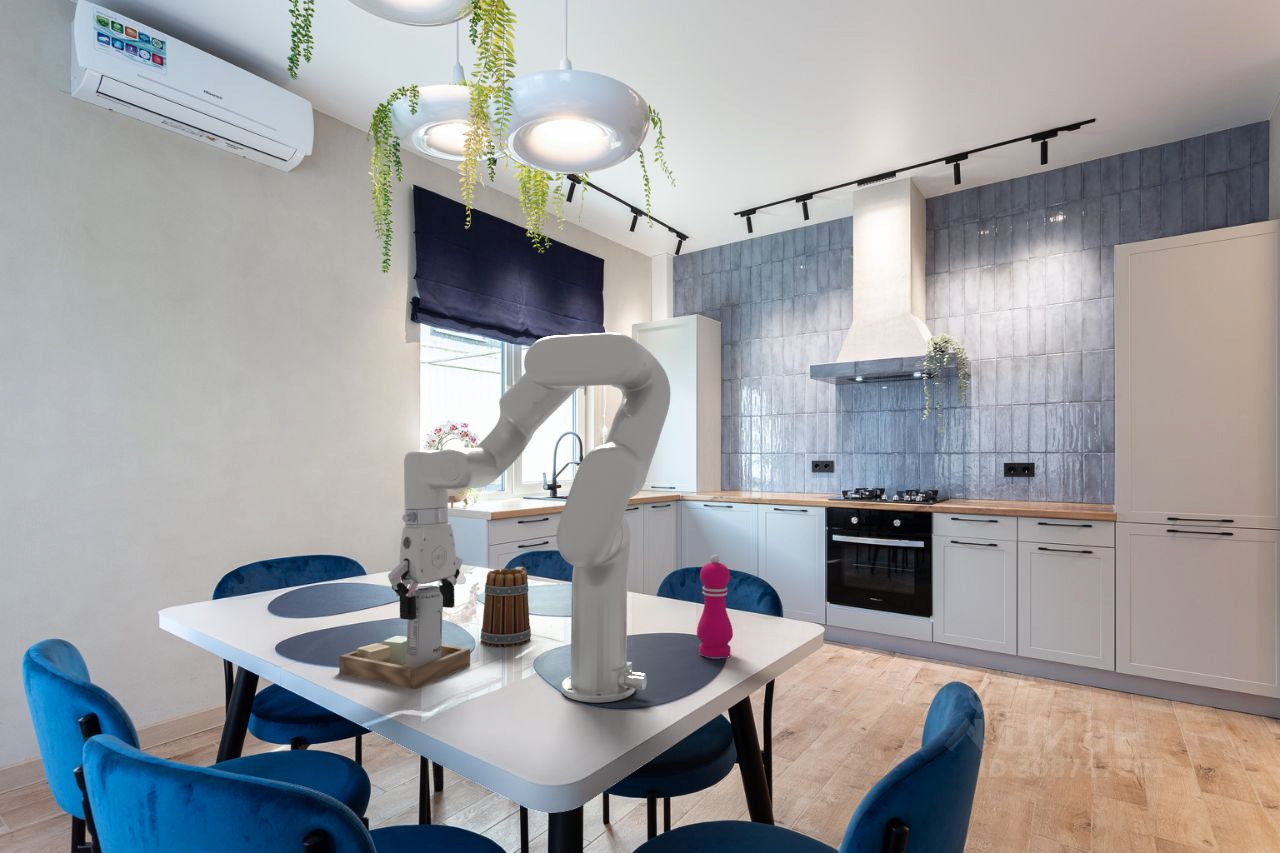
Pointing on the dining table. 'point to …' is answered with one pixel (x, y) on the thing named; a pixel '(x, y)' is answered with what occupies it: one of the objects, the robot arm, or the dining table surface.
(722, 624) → the pepper mill
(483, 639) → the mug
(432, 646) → the energy drink can
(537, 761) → the dining table surface
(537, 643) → the dining table surface
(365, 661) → the tray
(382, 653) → the beech block
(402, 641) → the sage block
